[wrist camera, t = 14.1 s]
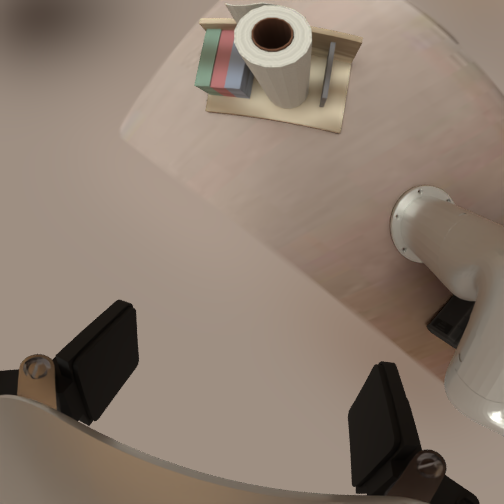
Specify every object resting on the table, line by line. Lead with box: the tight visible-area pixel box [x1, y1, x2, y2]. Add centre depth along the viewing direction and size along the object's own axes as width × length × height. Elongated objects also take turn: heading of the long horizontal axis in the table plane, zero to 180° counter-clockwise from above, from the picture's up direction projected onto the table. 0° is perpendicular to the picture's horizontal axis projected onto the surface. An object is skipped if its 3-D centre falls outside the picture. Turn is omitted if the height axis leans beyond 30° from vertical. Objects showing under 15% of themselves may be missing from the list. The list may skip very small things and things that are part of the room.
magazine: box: [426, 295, 475, 349], centre depth 37 cm, size 17×3×30 cm
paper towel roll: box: [225, 3, 312, 109], centre depth 27 cm, size 7×6×21 cm
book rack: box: [195, 18, 363, 134], centre depth 34 cm, size 12×20×10 cm, turn 81°
